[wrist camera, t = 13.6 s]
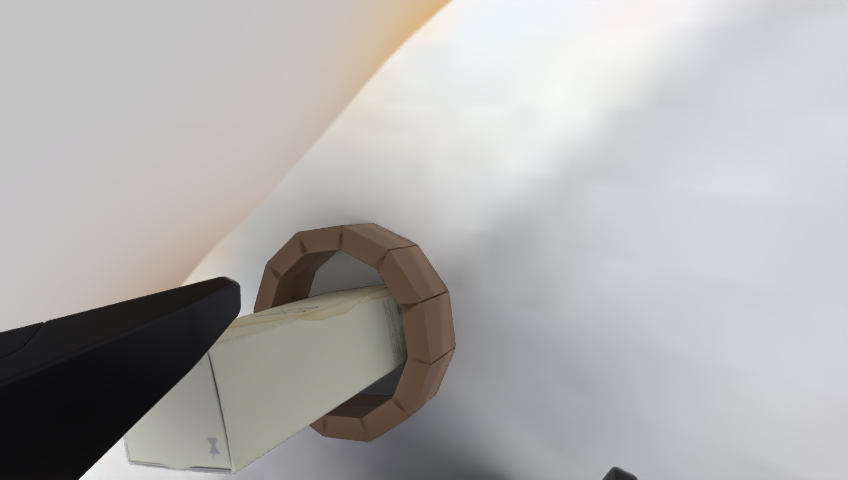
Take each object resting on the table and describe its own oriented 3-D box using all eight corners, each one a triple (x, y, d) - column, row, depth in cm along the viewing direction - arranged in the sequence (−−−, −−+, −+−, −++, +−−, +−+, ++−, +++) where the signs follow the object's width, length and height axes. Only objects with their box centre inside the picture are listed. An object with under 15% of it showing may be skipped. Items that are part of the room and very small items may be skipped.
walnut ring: (465, 423, 23) (441, 450, 21) (304, 409, 29) (268, 430, 26) (438, 213, 23) (412, 214, 21) (282, 236, 28) (244, 240, 26)
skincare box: (403, 280, 25) (212, 338, 14) (418, 359, 25) (237, 479, 14) (317, 294, 27) (102, 350, 17) (330, 364, 27) (122, 468, 17)
